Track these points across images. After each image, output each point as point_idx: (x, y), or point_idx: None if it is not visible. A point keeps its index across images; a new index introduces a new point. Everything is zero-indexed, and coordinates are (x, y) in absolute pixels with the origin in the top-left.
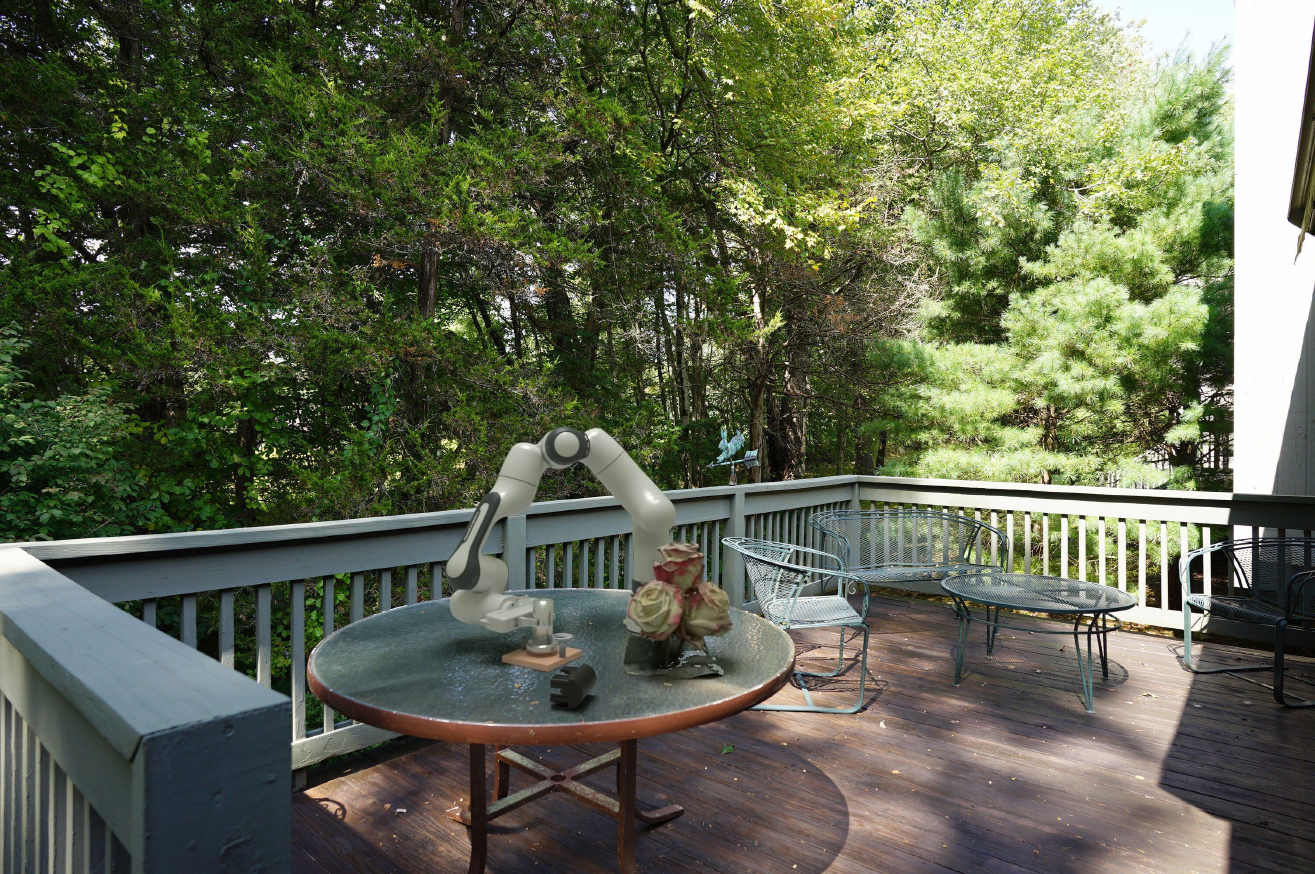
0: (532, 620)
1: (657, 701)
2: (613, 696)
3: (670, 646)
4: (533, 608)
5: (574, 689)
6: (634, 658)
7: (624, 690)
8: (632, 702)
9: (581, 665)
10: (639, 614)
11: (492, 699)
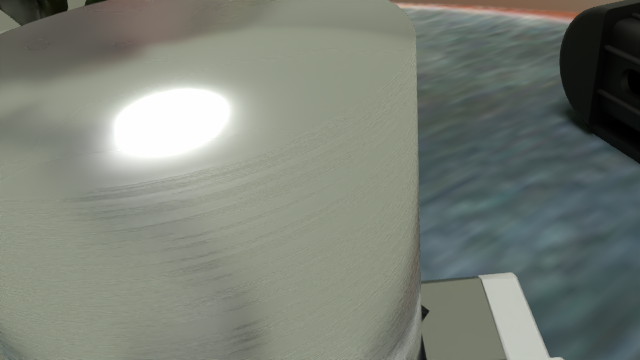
0: (528, 325)
1: (446, 38)
2: (513, 88)
3: None
4: (395, 250)
5: None
6: None
7: (443, 93)
8: (504, 55)
9: (634, 3)
10: None
11: None
